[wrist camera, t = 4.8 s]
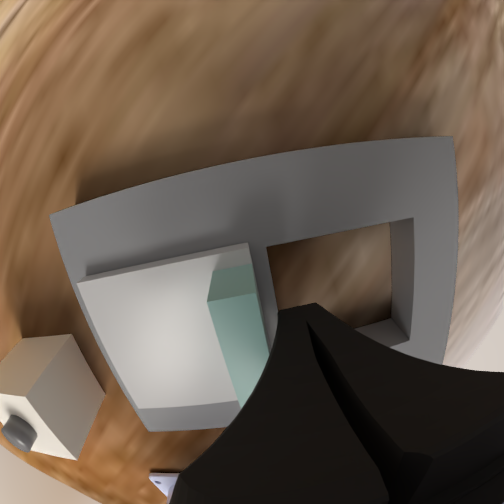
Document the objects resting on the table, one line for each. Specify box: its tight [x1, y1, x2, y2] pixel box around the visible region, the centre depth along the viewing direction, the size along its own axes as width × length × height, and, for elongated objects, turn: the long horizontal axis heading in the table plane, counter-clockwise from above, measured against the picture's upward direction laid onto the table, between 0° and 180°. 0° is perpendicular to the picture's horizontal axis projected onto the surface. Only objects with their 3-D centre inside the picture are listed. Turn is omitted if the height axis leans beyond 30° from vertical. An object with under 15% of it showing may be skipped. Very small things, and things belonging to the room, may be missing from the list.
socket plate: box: [49, 136, 458, 432], centre depth 11 cm, size 11×15×2 cm
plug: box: [0, 334, 106, 460], centre depth 10 cm, size 4×4×6 cm
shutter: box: [77, 242, 271, 409], centre depth 9 cm, size 6×6×3 cm
